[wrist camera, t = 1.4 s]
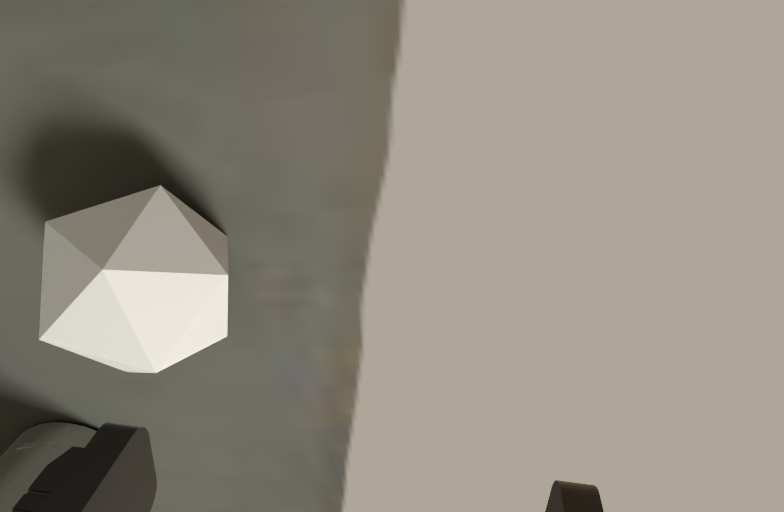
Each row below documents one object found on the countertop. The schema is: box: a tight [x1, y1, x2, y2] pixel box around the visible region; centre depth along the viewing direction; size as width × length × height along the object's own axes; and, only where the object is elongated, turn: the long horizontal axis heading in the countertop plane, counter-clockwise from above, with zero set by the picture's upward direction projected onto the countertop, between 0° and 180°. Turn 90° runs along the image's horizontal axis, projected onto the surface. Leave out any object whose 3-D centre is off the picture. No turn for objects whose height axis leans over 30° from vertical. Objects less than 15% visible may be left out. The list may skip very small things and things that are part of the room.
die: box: [39, 185, 228, 373], centre depth 28 cm, size 8×9×10 cm
